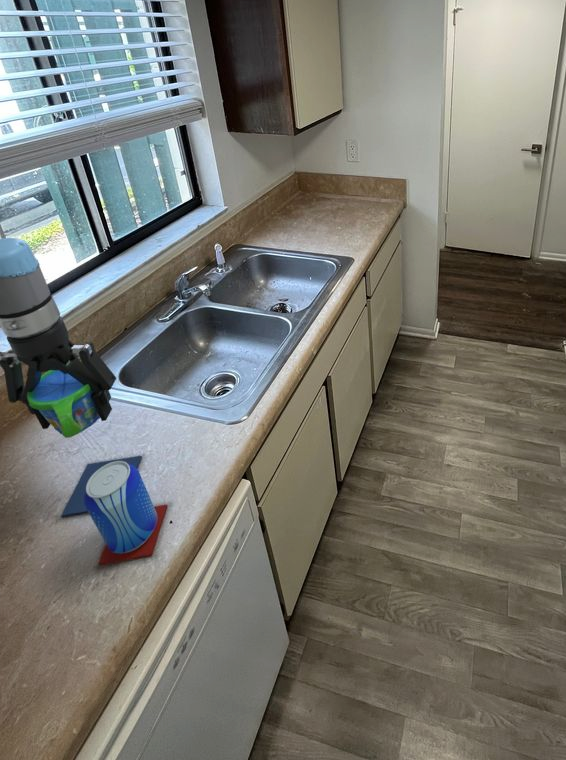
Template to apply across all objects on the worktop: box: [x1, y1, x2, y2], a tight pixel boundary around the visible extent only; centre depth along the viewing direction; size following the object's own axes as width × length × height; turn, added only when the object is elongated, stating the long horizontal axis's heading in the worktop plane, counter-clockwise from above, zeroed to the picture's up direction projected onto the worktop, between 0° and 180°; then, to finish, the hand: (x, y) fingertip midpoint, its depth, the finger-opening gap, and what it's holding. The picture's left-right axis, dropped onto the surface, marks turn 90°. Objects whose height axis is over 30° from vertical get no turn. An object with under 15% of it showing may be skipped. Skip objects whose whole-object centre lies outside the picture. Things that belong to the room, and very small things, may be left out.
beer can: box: [84, 461, 157, 553], centre depth 79 cm, size 8×8×16 cm
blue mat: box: [61, 455, 143, 518], centre depth 91 cm, size 11×11×1 cm
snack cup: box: [27, 360, 101, 438], centre depth 82 cm, size 16×10×10 cm
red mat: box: [97, 504, 168, 567], centre depth 83 cm, size 9×9×1 cm
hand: (78, 418), depth 83 cm, fingers closed on snack cup, 9 cm apart
